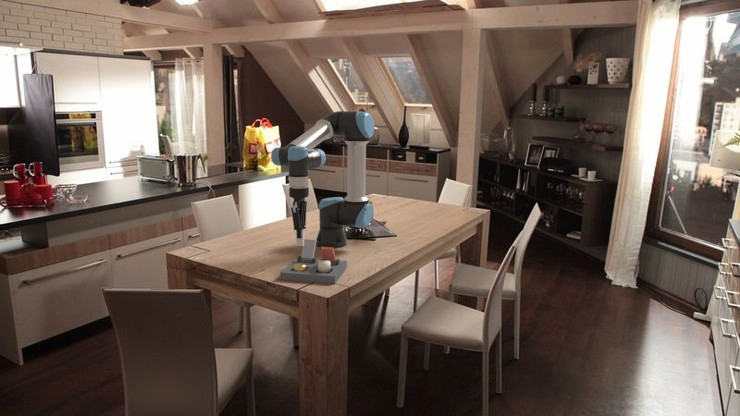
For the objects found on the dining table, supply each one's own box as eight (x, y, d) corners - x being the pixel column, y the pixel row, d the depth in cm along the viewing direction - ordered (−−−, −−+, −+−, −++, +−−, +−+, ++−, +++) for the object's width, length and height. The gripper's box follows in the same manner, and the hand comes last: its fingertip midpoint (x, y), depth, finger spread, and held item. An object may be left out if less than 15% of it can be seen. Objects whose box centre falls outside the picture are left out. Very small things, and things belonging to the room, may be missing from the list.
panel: (297, 264, 215) (296, 253, 214) (347, 267, 212) (347, 256, 211) (280, 279, 196) (280, 267, 195) (335, 283, 192) (335, 271, 191)
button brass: (296, 271, 204) (296, 262, 203) (308, 271, 203) (307, 263, 202) (292, 274, 199) (291, 266, 198) (304, 275, 198) (304, 267, 197)
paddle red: (325, 260, 209) (321, 246, 202) (336, 261, 208) (333, 247, 201) (324, 263, 208) (320, 249, 201) (335, 264, 207) (332, 250, 200)
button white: (319, 268, 201) (319, 259, 201) (331, 268, 201) (331, 260, 200) (316, 272, 197) (316, 263, 196) (328, 272, 196) (328, 264, 195)
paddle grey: (301, 261, 210) (305, 240, 213) (312, 262, 209) (316, 241, 212) (300, 260, 208) (304, 239, 212) (311, 261, 207) (315, 240, 211)
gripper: (295, 183, 201) (296, 240, 206) (283, 189, 188) (285, 249, 193) (313, 184, 199) (314, 241, 204) (302, 190, 187) (304, 250, 192)
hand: (300, 245), depth 199 cm, fingers closed
